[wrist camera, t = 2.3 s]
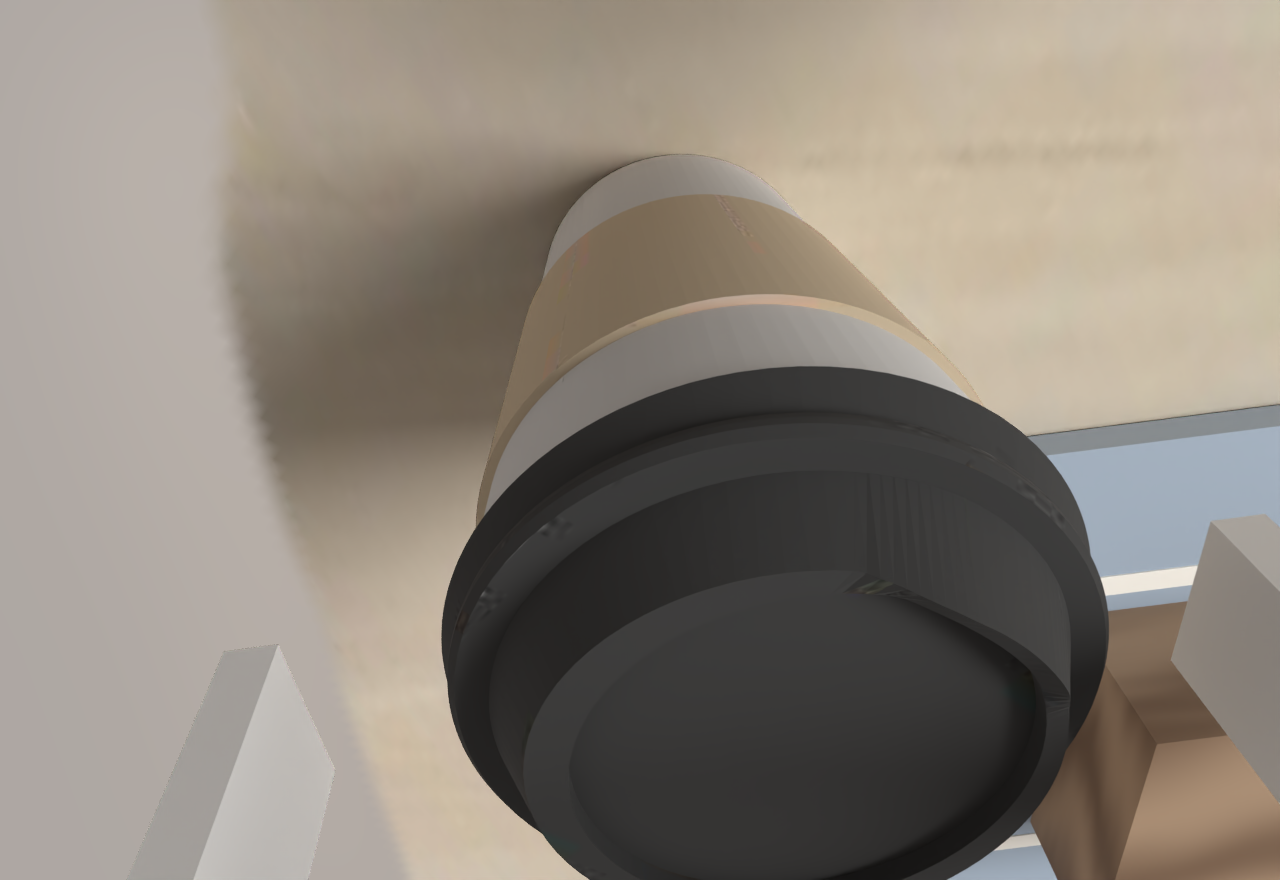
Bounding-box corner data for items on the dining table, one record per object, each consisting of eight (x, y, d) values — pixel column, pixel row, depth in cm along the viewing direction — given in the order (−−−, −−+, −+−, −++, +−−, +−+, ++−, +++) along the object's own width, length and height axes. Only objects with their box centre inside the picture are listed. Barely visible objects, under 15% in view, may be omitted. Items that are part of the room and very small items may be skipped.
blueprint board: (936, 448, 27) (949, 468, 26) (1626, 360, 26) (1662, 379, 26) (898, 904, 40) (906, 928, 39) (1358, 847, 40) (1376, 870, 39)
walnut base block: (1073, 615, 29) (1157, 744, 25) (1416, 572, 29) (1558, 694, 25) (1030, 822, 35) (1092, 953, 31) (1315, 787, 35) (1415, 913, 31)
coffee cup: (694, 489, 27) (803, 1056, 14) (429, 316, 23) (266, 867, 11) (928, 259, 23) (1343, 743, 11) (658, 15, 20) (810, 315, 7)
